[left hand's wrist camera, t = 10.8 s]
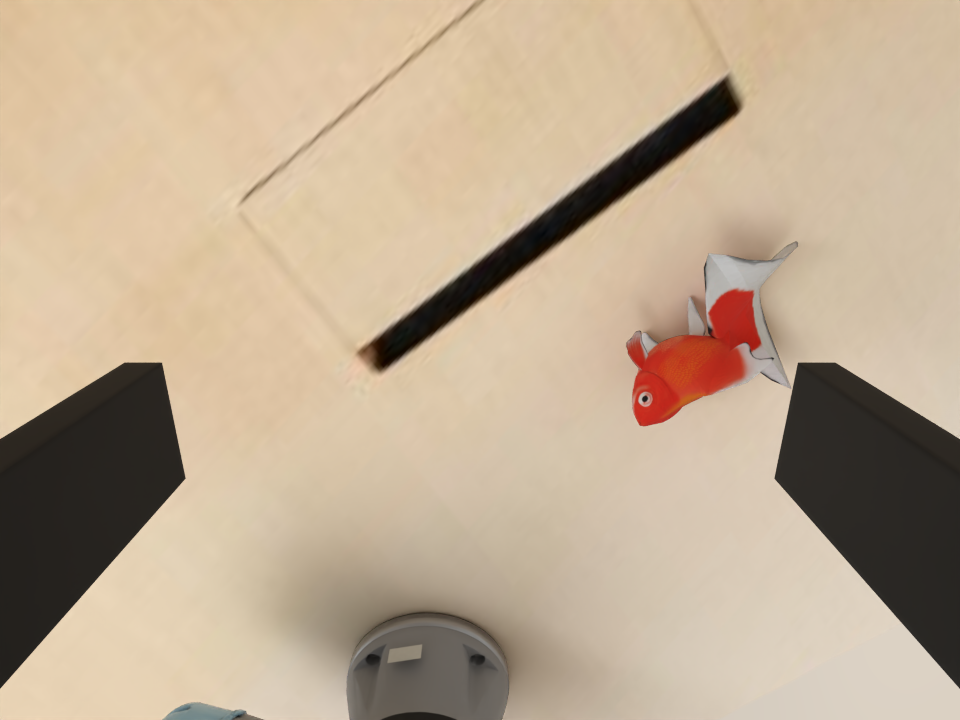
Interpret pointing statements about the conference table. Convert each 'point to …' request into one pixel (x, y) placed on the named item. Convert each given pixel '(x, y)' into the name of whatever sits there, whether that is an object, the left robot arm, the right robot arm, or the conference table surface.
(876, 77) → the conference table surface
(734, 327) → the fish
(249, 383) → the conference table surface
